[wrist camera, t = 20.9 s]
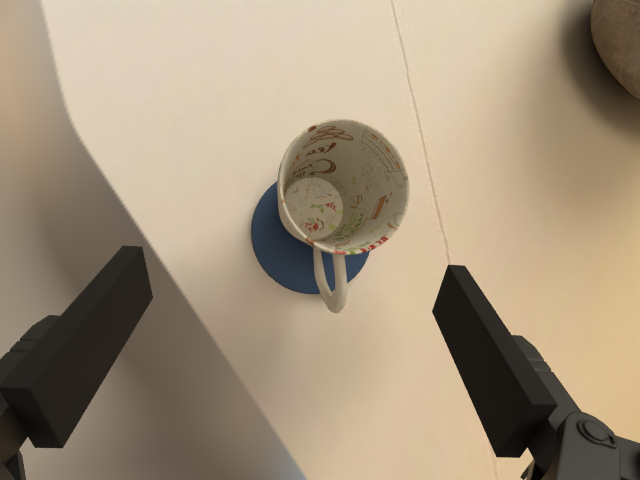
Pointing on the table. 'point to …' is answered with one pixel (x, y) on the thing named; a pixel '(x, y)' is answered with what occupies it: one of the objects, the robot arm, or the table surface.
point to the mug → (341, 195)
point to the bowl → (619, 40)
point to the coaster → (292, 251)
